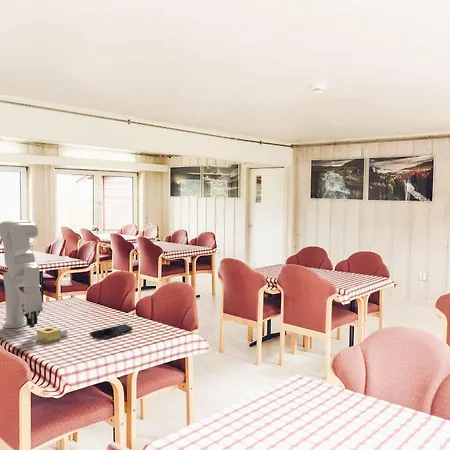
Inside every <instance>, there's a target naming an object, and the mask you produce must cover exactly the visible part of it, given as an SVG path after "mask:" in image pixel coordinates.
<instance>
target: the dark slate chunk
mask: <svg viewBox="0 0 450 450" xmlns="http://www.w3.org/2000/svg"><path fill="white" fill-rule="evenodd" d="M132 329H133V326H130V325H128V324H126V323H124V324H118V325H116V326H111V327H106V328H102V329H97V330H94V331H91V332H90V333H89V337H93V338H95V339H97V340H98V339H99V340H108V339H112V338H115V337H118V336H120V335H124V334H126V333H129V332H130V331H132Z"/></svg>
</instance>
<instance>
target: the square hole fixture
mask: <svg viewBox="0 0 450 450" xmlns="http://www.w3.org/2000/svg"><path fill="white" fill-rule="evenodd" d="M70 338H72V337H71V336H68V329H66V328H61V329H60V328H57V327H52V326H49V327H46V328H42V329H37V330H36V335H32V336H29V337H26V339H27V340H31V341H34V342H39V343H42V344H45V345H51V344H53V343H58V342H60V341H64V340H67V339H70Z"/></svg>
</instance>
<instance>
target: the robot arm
mask: <svg viewBox="0 0 450 450" xmlns="http://www.w3.org/2000/svg"><path fill="white" fill-rule="evenodd" d="M38 235H39V228H38V226H37V224H36V223H35V222H33V221H32V220H28V219H26V220H25V219H24V220H6V221H2V222H0V239H1V242H2V244H3V252H4V253H3V255H4V264H5V267H6V268H8V271H7V272H5V273H4V274H3V275H2V276H3V277H2V279H3V284H4V293H5V317H4V319H3V320H4V321H5V323H3V328H4V329H5V328H6V329H17V328H24V327H26V326H29V327H30V326H32V318H31V312H34V314H35V325H38V317H39V314H40V313H41V312H42V311H44V307H43V296H42V292H41V290H40V289H41V288H42V285H40V267H39V265H38V263H36V259H35V258H36V257H35V254H34V252H33V251H31V250H30V249H31V244H30V239H35V238H37V237H38ZM22 287H23V291H22V290H21V289H20V288H22ZM25 318H26V320H25Z"/></svg>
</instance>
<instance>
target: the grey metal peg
mask: <svg viewBox="0 0 450 450" xmlns="http://www.w3.org/2000/svg"><path fill="white" fill-rule="evenodd" d="M31 318H32V326H29V328H35V325H36V324H35V314H34V312H31Z"/></svg>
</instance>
